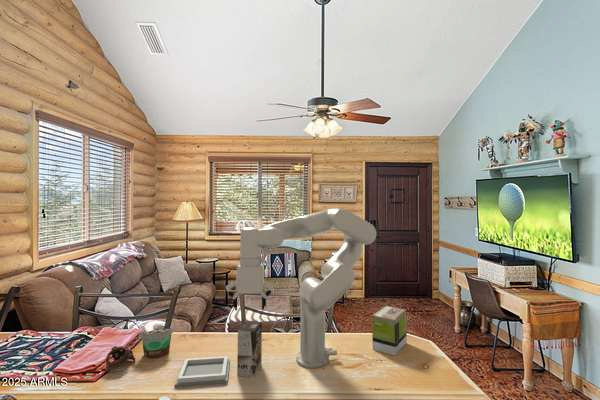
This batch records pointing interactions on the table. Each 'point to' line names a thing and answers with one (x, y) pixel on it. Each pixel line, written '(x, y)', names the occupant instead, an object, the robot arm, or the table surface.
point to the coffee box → (249, 349)
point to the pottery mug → (116, 354)
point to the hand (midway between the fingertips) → (249, 308)
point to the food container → (156, 342)
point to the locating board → (203, 372)
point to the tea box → (389, 330)
